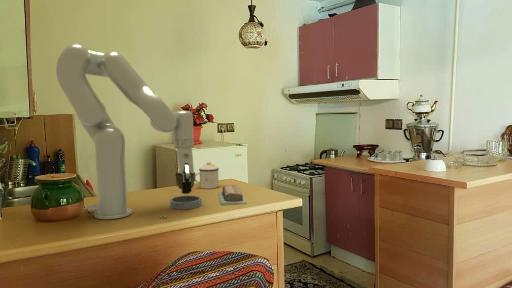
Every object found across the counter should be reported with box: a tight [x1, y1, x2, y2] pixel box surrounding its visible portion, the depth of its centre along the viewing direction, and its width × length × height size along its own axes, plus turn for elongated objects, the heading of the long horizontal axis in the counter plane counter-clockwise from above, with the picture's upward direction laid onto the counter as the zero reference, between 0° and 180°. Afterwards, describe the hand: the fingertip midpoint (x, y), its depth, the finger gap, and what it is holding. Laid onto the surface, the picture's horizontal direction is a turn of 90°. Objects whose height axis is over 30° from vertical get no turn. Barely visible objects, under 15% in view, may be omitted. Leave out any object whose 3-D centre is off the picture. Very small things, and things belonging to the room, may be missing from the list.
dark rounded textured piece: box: [175, 171, 196, 195], centre depth 151 cm, size 8×7×8 cm
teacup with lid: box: [194, 161, 220, 190], centre depth 183 cm, size 12×9×12 cm
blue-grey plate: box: [169, 194, 203, 211], centre depth 152 cm, size 12×12×2 cm
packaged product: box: [217, 184, 247, 206], centre depth 160 cm, size 18×5×10 cm
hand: (185, 189), depth 151 cm, fingers closed on dark rounded textured piece, 6 cm apart
